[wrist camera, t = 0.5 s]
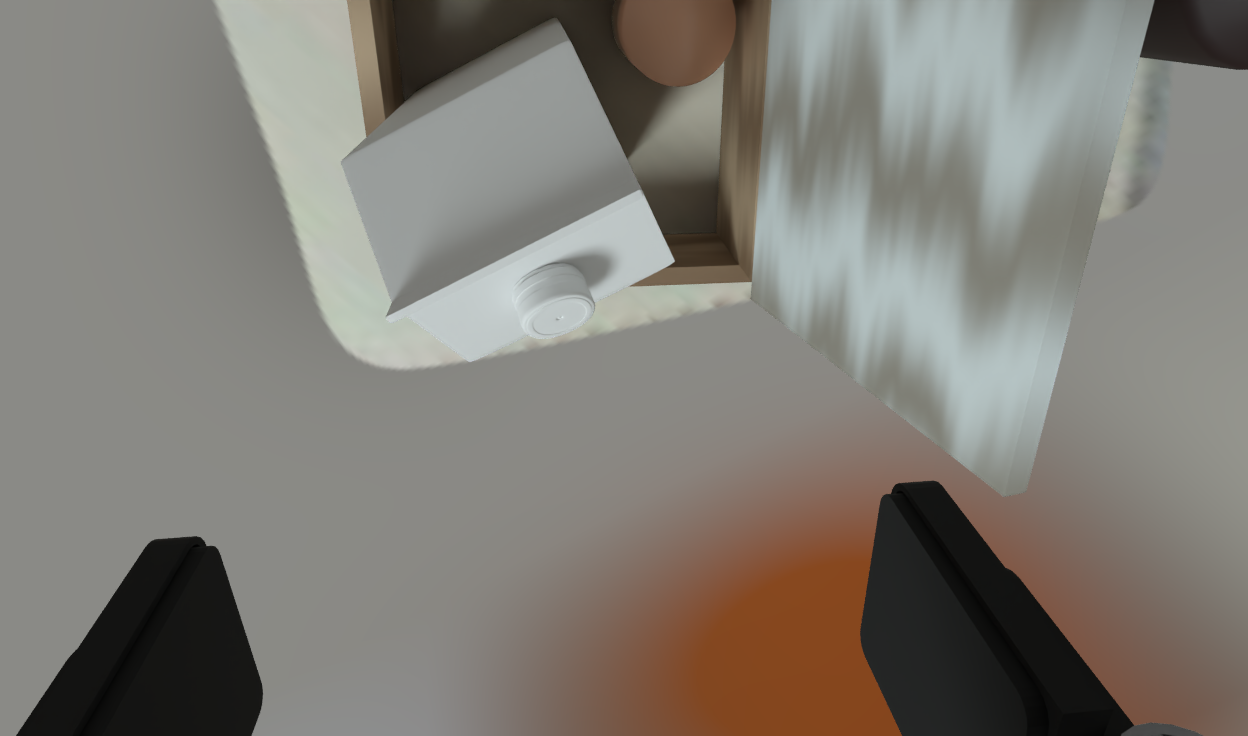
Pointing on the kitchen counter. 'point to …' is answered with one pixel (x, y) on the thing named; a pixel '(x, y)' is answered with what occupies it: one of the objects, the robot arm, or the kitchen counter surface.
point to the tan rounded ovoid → (674, 37)
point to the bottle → (1199, 32)
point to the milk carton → (503, 200)
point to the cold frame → (904, 192)
